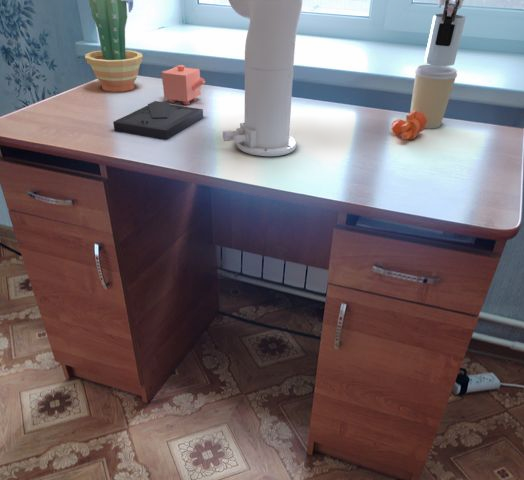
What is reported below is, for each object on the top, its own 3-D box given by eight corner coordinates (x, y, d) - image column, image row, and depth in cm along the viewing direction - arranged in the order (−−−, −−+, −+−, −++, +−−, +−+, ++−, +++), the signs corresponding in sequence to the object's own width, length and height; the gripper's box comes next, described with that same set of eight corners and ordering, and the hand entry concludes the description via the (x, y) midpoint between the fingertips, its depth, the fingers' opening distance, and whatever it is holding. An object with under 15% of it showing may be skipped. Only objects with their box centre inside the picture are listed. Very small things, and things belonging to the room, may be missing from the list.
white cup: (437, 66, 112) (448, 19, 106) (418, 60, 116) (427, 14, 111) (460, 64, 114) (472, 17, 109) (440, 58, 119) (450, 13, 113)
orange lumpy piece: (415, 118, 107) (430, 105, 115) (381, 124, 111) (398, 111, 119) (417, 142, 110) (431, 128, 118) (384, 147, 114) (400, 133, 122)
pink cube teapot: (199, 107, 128) (197, 71, 123) (157, 101, 131) (154, 66, 126) (212, 100, 134) (210, 65, 129) (171, 94, 137) (169, 60, 132)
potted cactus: (120, 98, 133) (103, -19, 117) (77, 88, 139) (56, -24, 122) (158, 86, 143) (147, -23, 127) (117, 78, 149) (102, -28, 133)
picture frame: (155, 110, 126) (114, 130, 113) (154, 100, 124) (112, 120, 112) (203, 117, 122) (166, 139, 110) (202, 107, 121) (165, 129, 108)
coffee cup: (440, 118, 127) (453, 65, 120) (447, 130, 120) (461, 74, 112) (403, 116, 128) (414, 63, 120) (407, 128, 121) (419, 72, 113)
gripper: (449, -62, 108) (428, 34, 120) (445, -60, 96) (423, 48, 107) (485, -61, 107) (461, 37, 118) (486, -58, 94) (459, 51, 106)
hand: (443, 41), depth 113 cm, fingers closed on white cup, 6 cm apart
